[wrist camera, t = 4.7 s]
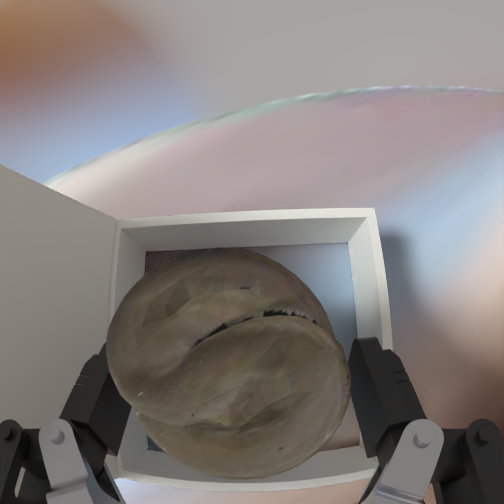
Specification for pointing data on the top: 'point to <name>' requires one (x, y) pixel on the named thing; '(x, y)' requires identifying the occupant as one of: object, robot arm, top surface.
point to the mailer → (117, 286)
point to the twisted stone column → (229, 363)
